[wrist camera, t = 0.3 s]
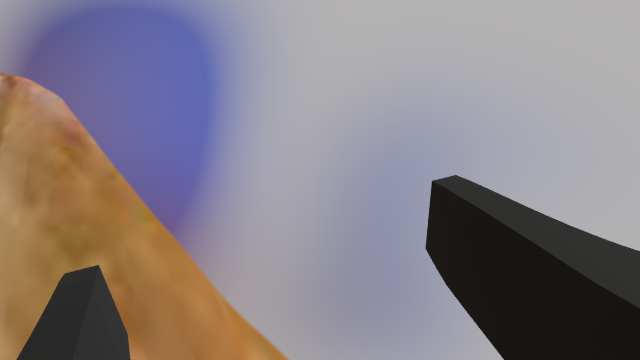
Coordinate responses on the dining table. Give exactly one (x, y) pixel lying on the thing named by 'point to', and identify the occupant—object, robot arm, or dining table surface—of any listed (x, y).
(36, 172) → the dining table surface
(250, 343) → the dining table surface
